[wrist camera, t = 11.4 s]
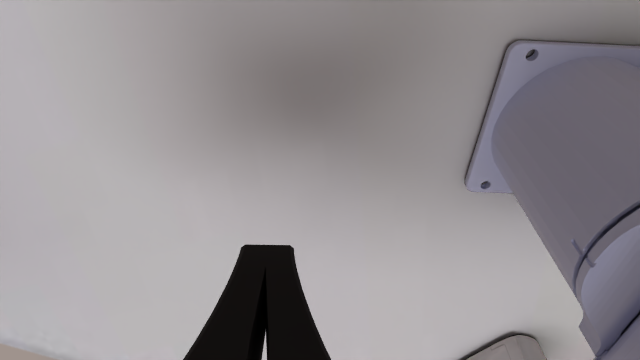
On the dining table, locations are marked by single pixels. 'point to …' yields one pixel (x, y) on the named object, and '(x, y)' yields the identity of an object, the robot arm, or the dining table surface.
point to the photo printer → (512, 350)
